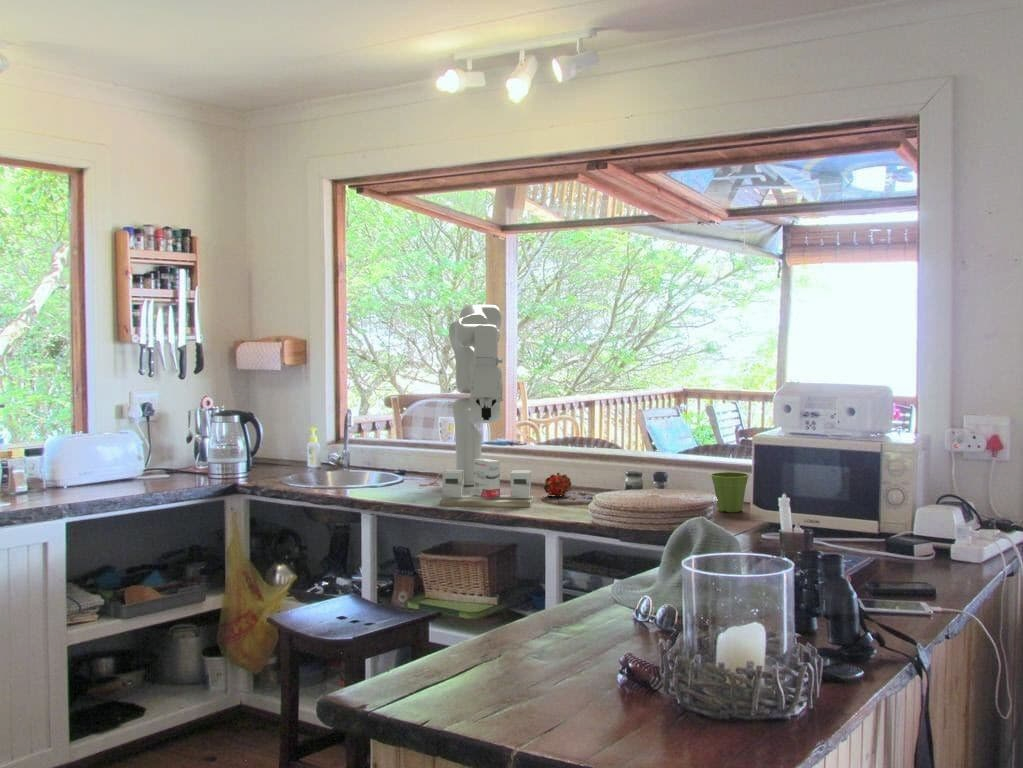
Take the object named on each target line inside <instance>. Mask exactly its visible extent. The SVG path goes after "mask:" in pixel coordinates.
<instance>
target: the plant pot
mask: <svg viewBox="0 0 1023 768" xmlns="http://www.w3.org/2000/svg"><path fill="white" fill-rule="evenodd" d="M709 475H710V477H711V480H712V484H713V487H714V492H715V498H716V497H717V499H718V501H717V500H716V504H717V510H718V511H719V512H726V513H739V512H742V511H743V507H744V502H745V495H746V494H745V493H746V489H747V484H748V479H749V477H750V473H746V472H740V471H739V472H738V471H737V472H736V471H723V472H714V473H710V474H709Z"/></svg>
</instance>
